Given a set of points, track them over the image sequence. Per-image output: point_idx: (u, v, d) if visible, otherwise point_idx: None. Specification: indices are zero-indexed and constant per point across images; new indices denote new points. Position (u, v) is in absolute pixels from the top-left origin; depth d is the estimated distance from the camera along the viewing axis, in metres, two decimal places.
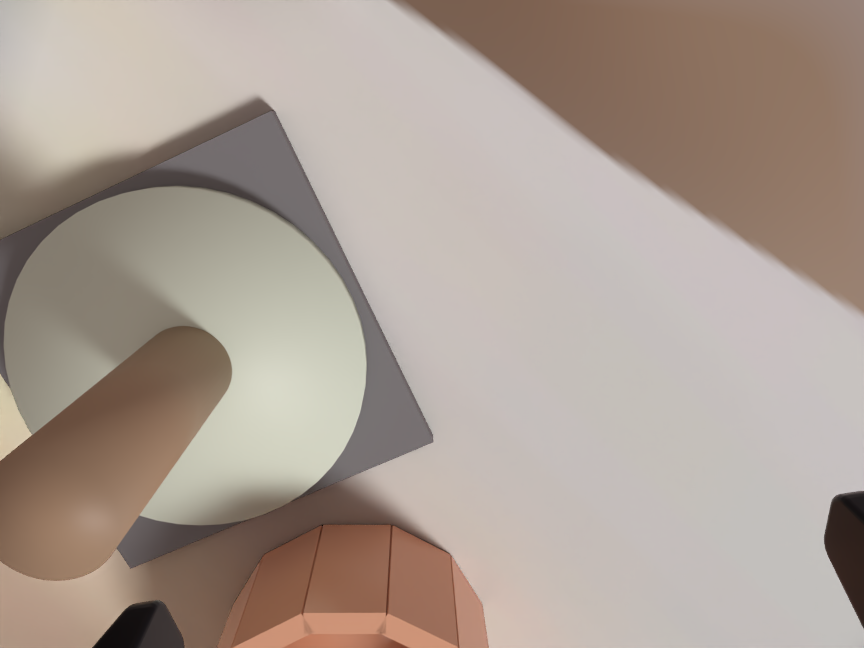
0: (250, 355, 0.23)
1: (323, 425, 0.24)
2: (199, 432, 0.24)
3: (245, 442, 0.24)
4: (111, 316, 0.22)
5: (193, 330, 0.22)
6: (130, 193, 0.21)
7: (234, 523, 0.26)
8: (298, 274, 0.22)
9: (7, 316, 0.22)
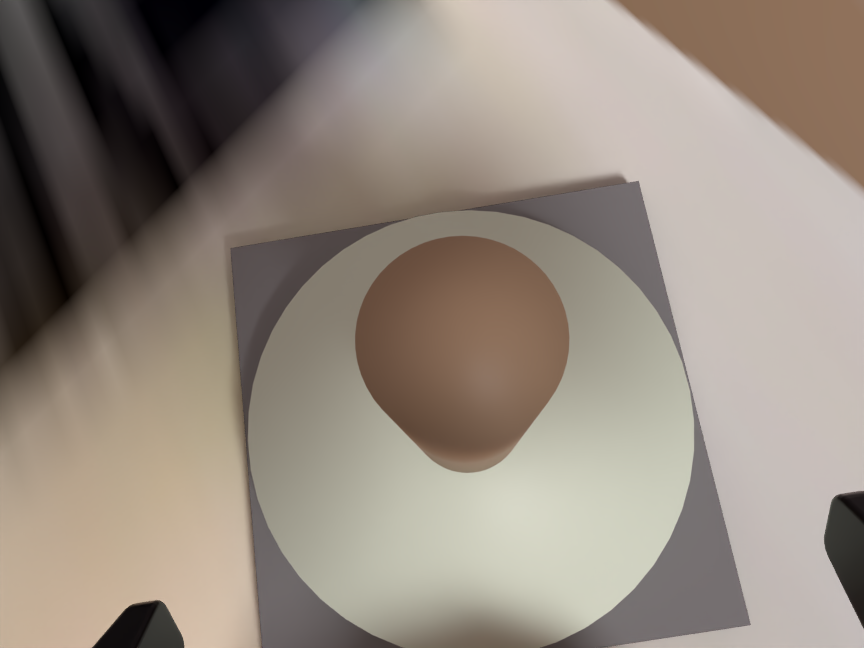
0: (548, 421, 0.18)
1: (615, 542, 0.17)
2: (451, 504, 0.18)
3: (505, 536, 0.18)
4: None
5: None
6: (478, 211, 0.20)
7: None
8: (634, 339, 0.19)
9: (292, 301, 0.20)
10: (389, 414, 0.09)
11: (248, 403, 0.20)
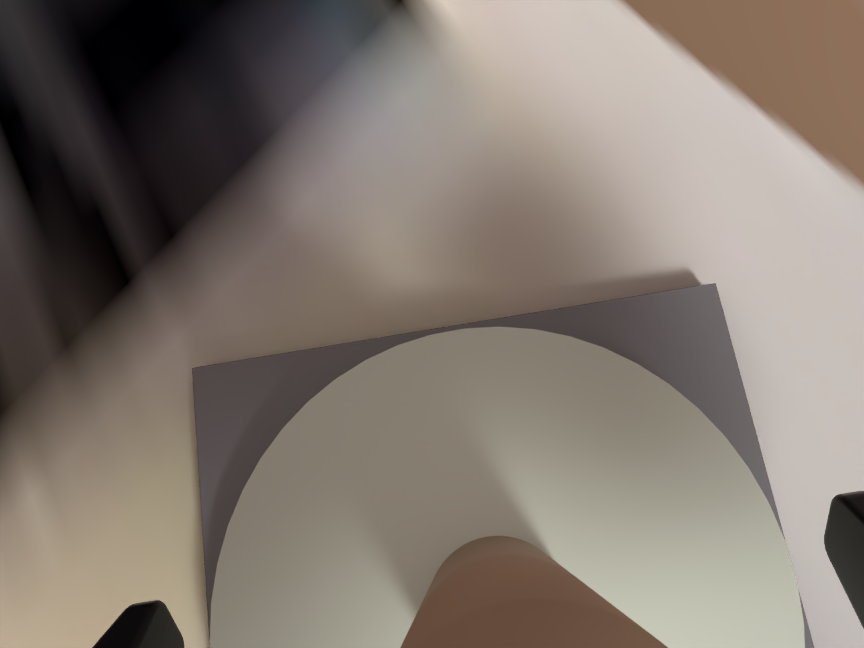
0: None
1: None
2: None
3: None
4: (416, 492, 0.15)
5: (539, 548, 0.14)
6: (511, 329, 0.15)
7: None
8: (720, 508, 0.14)
9: (269, 449, 0.15)
10: None
11: (213, 580, 0.15)
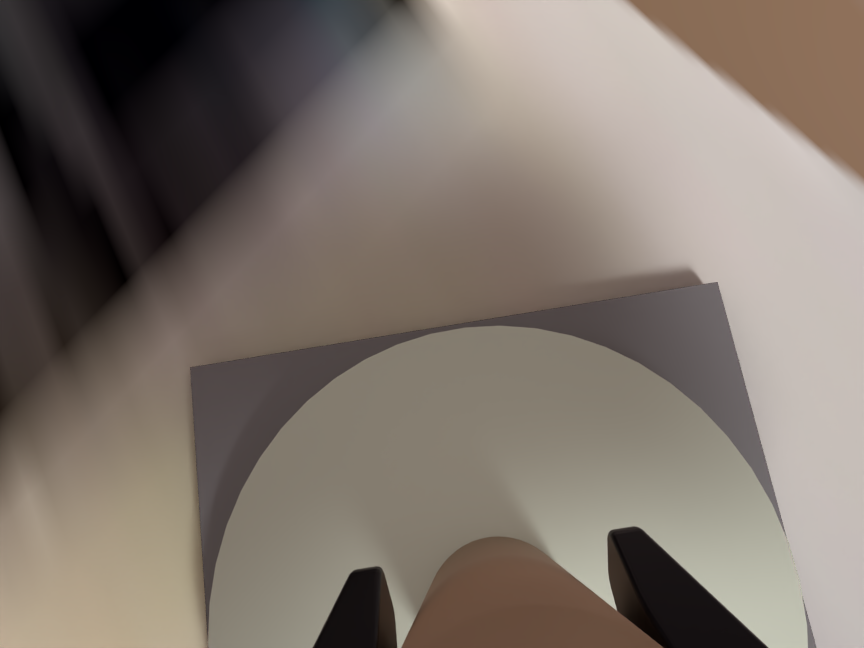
0: None
1: None
2: None
3: None
4: (416, 492, 0.14)
5: (540, 549, 0.14)
6: (512, 328, 0.15)
7: None
8: (723, 508, 0.14)
9: (268, 448, 0.15)
10: None
11: (211, 581, 0.15)
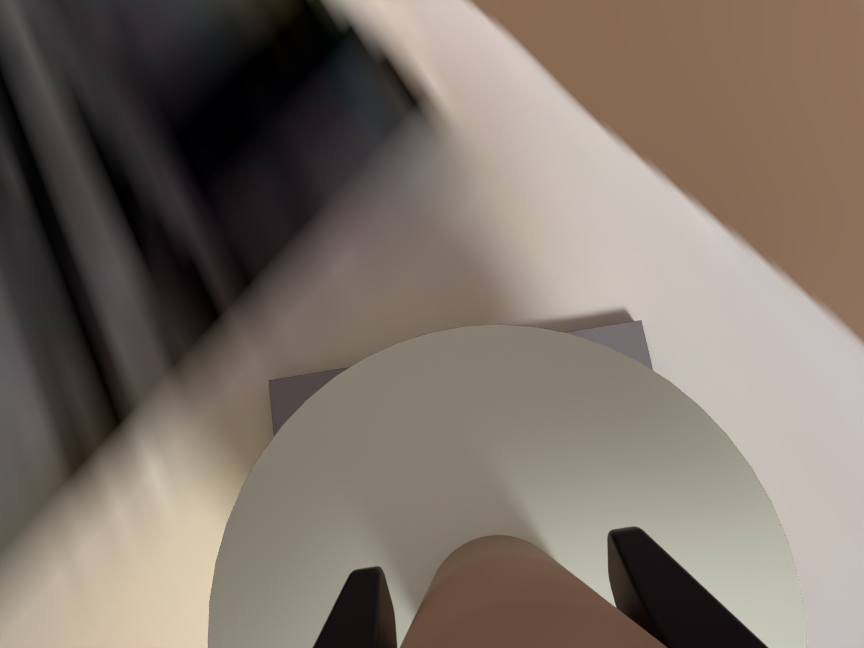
0: None
1: None
2: None
3: None
4: (416, 491, 0.14)
5: (540, 547, 0.14)
6: (512, 326, 0.15)
7: None
8: (722, 507, 0.14)
9: (269, 447, 0.15)
10: None
11: None
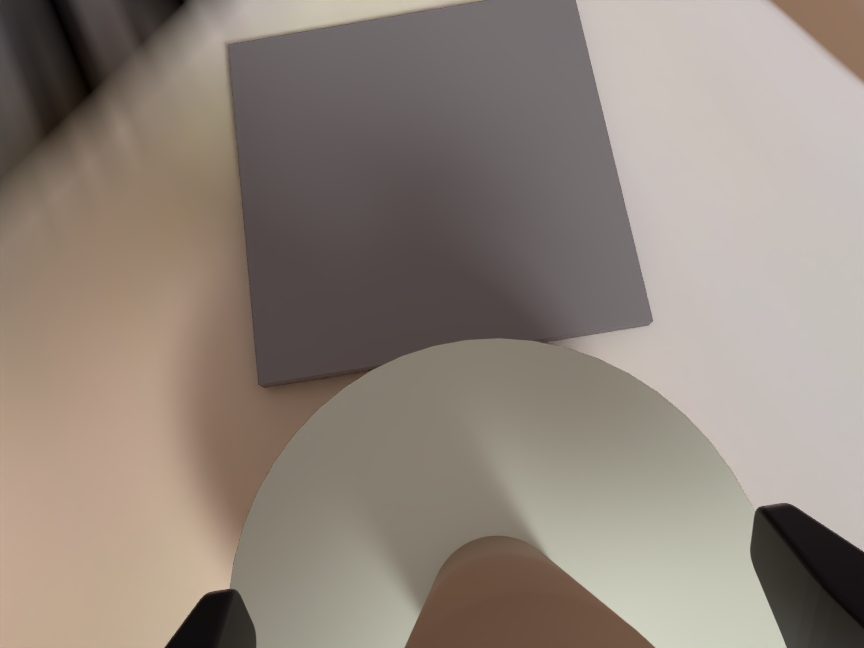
0: None
1: None
2: None
3: None
4: (420, 494, 0.16)
5: None
6: (510, 340, 0.16)
7: None
8: (706, 509, 0.15)
9: (282, 454, 0.16)
10: None
11: (243, 164, 0.24)
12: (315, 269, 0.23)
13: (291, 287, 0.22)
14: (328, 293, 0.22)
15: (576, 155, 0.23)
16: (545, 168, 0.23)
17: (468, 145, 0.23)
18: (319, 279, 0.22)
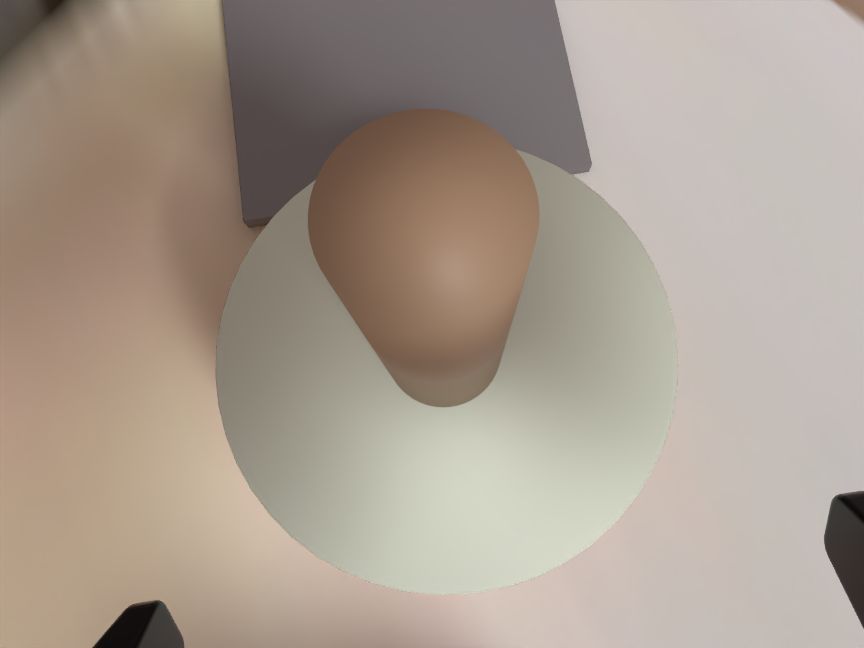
0: (527, 354, 0.18)
1: (596, 477, 0.17)
2: (426, 439, 0.17)
3: (482, 471, 0.17)
4: None
5: None
6: None
7: None
8: (617, 271, 0.18)
9: (262, 233, 0.19)
10: (344, 296, 0.09)
11: (229, 33, 0.26)
12: (294, 123, 0.25)
13: (272, 138, 0.25)
14: (305, 143, 0.25)
15: (527, 24, 0.26)
16: (499, 35, 0.26)
17: (431, 16, 0.26)
18: (297, 131, 0.25)
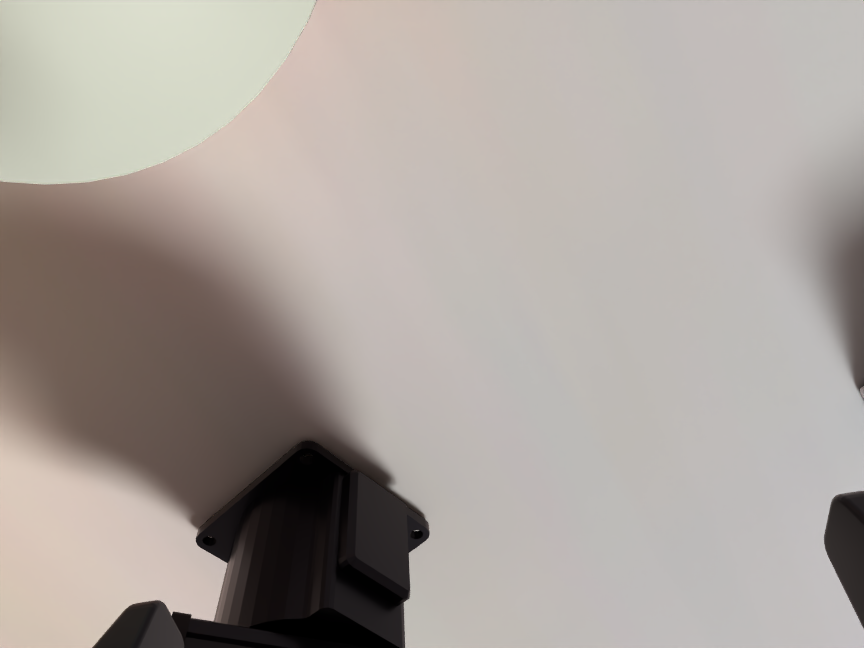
0: None
1: (228, 32, 0.12)
2: None
3: (65, 24, 0.12)
4: None
5: None
6: None
7: None
8: None
9: None
10: None
11: None
12: None
13: None
14: None
15: None
16: None
17: None
18: None
